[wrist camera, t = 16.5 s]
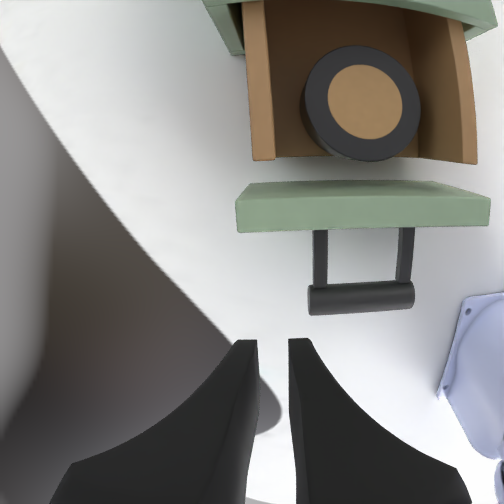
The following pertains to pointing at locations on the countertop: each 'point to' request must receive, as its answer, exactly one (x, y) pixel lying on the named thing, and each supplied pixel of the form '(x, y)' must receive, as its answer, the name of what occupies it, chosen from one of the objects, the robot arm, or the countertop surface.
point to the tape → (360, 104)
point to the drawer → (300, 145)
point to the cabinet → (439, 3)
